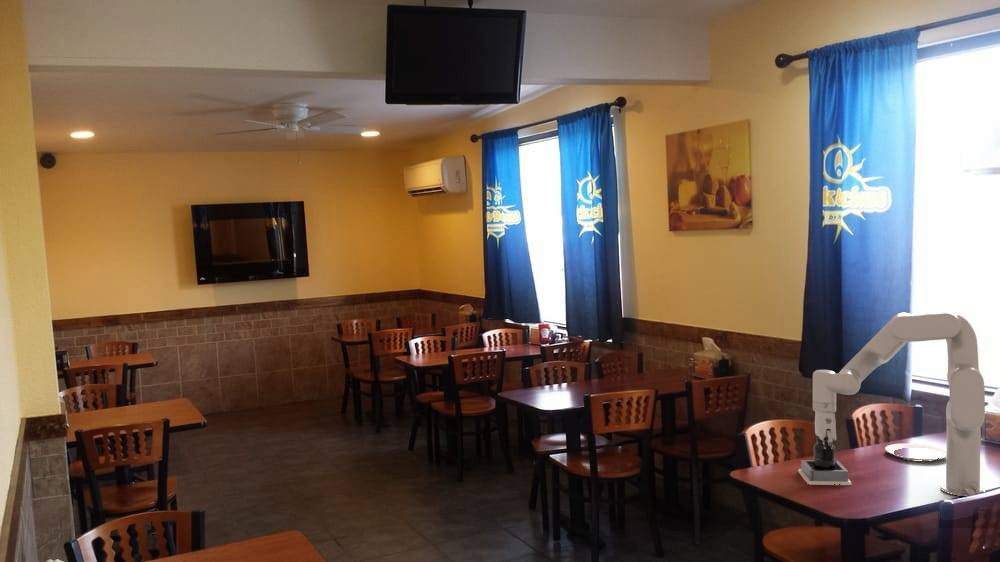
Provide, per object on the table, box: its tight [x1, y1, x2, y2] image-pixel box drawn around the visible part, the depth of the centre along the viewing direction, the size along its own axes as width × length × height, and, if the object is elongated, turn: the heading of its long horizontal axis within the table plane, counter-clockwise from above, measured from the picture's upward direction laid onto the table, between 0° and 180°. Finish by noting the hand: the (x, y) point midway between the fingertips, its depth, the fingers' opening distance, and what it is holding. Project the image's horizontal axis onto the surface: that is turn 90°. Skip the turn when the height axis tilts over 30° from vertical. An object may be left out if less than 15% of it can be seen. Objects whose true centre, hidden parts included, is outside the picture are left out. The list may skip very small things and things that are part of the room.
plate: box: [884, 442, 946, 461], centre depth 301 cm, size 21×21×2 cm
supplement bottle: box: [813, 435, 836, 470], centre depth 278 cm, size 7×7×12 cm
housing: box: [797, 459, 852, 486], centre depth 279 cm, size 14×14×4 cm
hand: (824, 456), depth 278 cm, fingers closed on supplement bottle, 6 cm apart
